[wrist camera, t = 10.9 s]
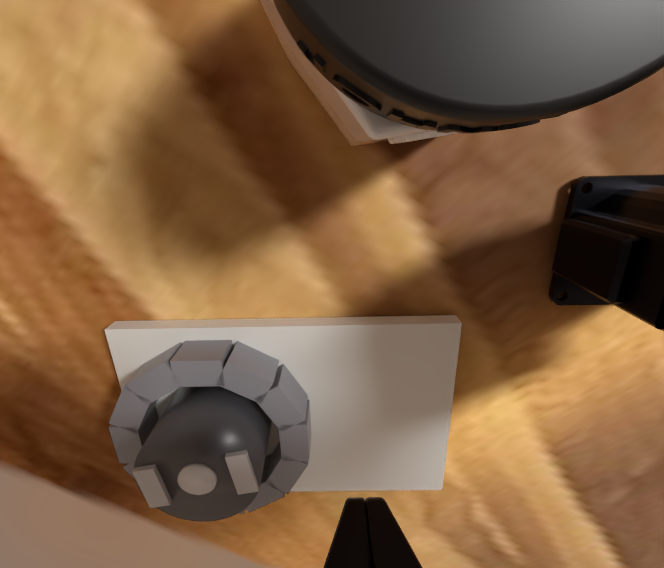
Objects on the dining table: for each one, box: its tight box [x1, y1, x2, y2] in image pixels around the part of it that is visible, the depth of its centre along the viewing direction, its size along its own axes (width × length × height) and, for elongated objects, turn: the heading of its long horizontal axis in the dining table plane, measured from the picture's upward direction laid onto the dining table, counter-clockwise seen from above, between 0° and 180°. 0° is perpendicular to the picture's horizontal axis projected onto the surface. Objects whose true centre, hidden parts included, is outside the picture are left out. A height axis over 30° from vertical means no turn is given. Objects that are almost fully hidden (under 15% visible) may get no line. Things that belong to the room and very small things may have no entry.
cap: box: [133, 386, 272, 521], centre depth 19 cm, size 6×6×4 cm
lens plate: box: [104, 315, 462, 513], centre depth 20 cm, size 19×12×3 cm, turn 91°
